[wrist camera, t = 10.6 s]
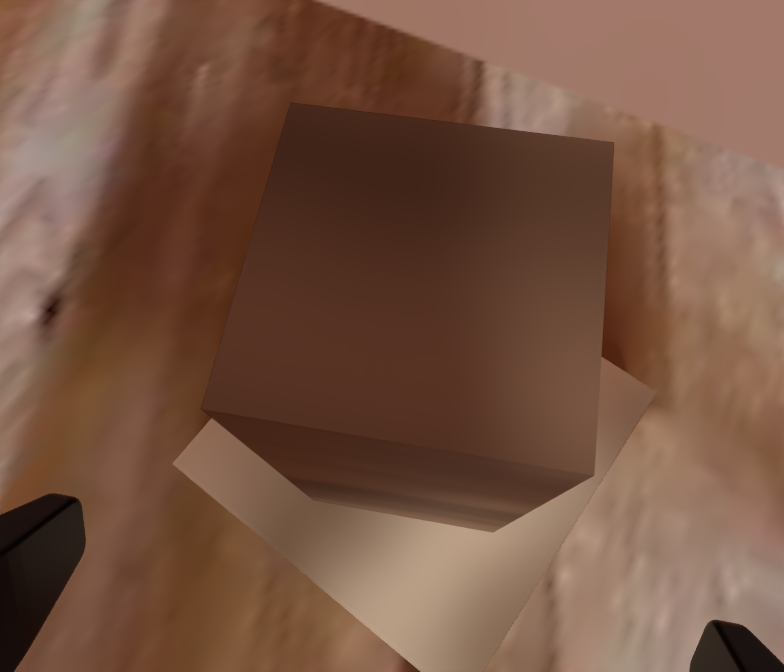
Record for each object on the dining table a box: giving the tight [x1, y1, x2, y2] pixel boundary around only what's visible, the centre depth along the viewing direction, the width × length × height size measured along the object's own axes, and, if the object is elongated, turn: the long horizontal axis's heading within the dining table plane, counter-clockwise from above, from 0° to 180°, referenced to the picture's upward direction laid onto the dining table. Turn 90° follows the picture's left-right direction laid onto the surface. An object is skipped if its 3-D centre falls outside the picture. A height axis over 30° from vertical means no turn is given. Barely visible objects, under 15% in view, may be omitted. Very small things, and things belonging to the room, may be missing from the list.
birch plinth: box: [172, 357, 657, 672], centre depth 19 cm, size 10×10×2 cm
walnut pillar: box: [201, 103, 614, 533], centre depth 13 cm, size 5×5×10 cm
